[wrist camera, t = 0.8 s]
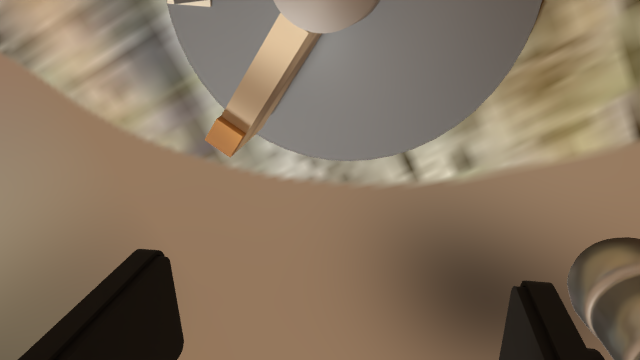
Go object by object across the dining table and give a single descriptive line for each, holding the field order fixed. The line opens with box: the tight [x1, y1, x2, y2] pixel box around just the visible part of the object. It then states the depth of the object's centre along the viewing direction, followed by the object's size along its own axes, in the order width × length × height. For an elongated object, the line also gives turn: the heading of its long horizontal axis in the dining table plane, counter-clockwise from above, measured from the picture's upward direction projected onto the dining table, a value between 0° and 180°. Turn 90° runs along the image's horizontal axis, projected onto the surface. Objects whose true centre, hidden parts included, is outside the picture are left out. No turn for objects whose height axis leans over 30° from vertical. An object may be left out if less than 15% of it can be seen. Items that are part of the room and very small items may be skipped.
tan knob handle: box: [205, 0, 380, 157], centre depth 23 cm, size 12×5×6 cm, turn 146°
